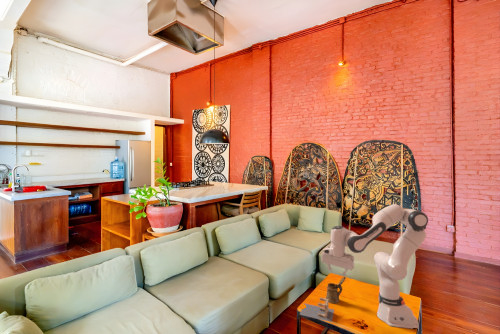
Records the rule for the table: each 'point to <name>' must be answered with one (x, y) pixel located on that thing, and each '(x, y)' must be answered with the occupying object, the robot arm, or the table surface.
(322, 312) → the mat
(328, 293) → the wooden mug
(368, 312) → the table surface
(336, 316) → the table surface
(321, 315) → the stool
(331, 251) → the robot arm
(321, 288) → the table surface
